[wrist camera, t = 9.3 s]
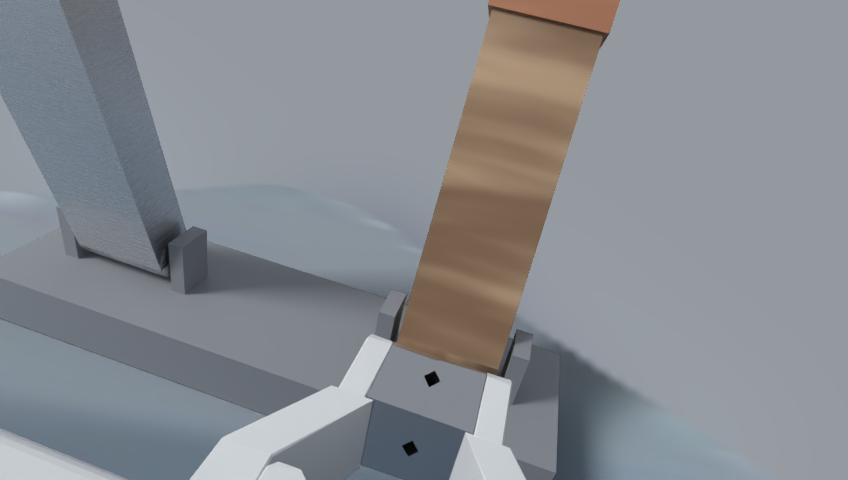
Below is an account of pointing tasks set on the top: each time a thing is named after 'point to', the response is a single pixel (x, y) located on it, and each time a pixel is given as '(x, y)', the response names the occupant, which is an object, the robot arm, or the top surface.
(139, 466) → the top surface
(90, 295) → the plinth
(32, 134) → the metal lever
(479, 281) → the walnut lever
